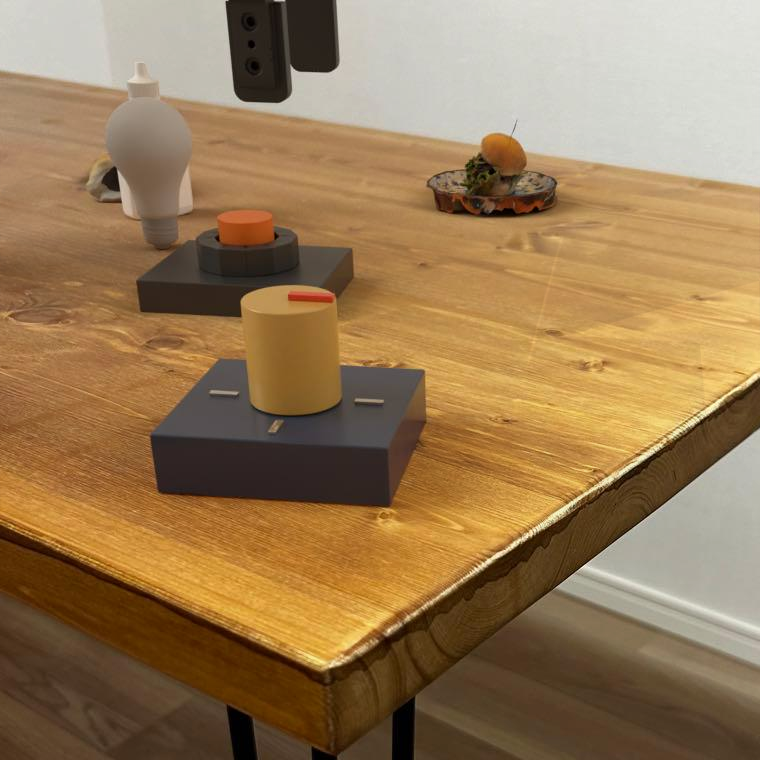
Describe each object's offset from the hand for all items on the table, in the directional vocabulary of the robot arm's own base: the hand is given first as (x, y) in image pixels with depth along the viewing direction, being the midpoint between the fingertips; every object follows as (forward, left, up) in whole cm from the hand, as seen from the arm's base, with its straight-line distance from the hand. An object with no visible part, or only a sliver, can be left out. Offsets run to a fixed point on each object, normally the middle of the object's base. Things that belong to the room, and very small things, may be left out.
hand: (291, 85), depth 52 cm
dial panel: (-1, -1, -17) cm, 17 cm away
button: (-11, +24, -14) cm, 30 cm away
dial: (-1, -1, -14) cm, 14 cm away
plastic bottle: (-25, +44, -18) cm, 53 cm away
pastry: (-30, +51, -18) cm, 62 cm away
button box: (-11, +24, -17) cm, 32 cm away
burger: (+2, +54, -18) cm, 57 cm away
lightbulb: (-21, +34, -18) cm, 44 cm away
